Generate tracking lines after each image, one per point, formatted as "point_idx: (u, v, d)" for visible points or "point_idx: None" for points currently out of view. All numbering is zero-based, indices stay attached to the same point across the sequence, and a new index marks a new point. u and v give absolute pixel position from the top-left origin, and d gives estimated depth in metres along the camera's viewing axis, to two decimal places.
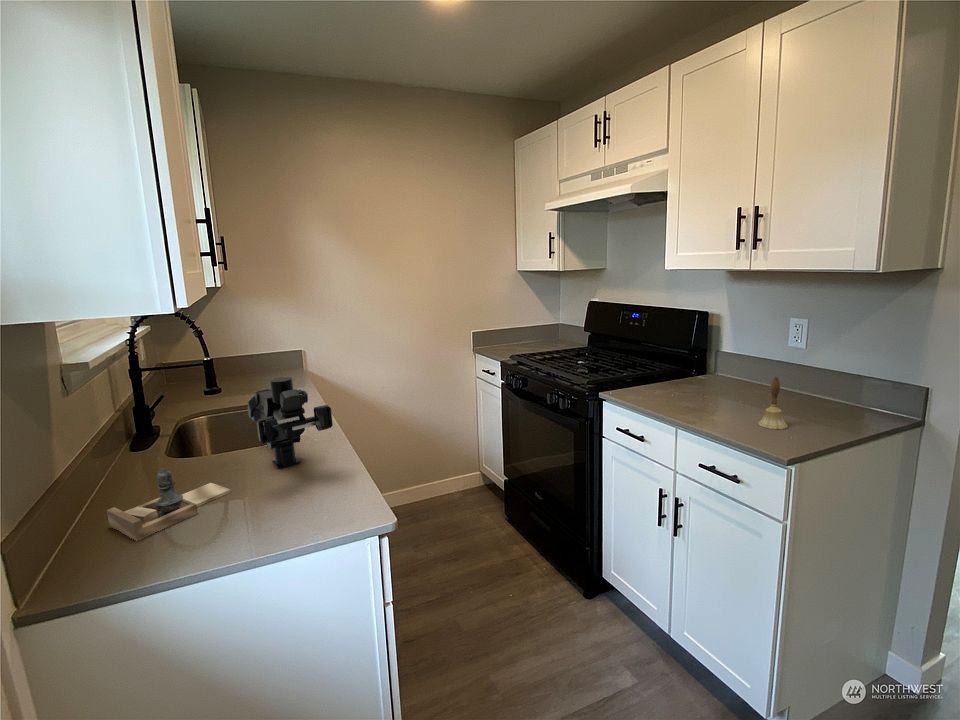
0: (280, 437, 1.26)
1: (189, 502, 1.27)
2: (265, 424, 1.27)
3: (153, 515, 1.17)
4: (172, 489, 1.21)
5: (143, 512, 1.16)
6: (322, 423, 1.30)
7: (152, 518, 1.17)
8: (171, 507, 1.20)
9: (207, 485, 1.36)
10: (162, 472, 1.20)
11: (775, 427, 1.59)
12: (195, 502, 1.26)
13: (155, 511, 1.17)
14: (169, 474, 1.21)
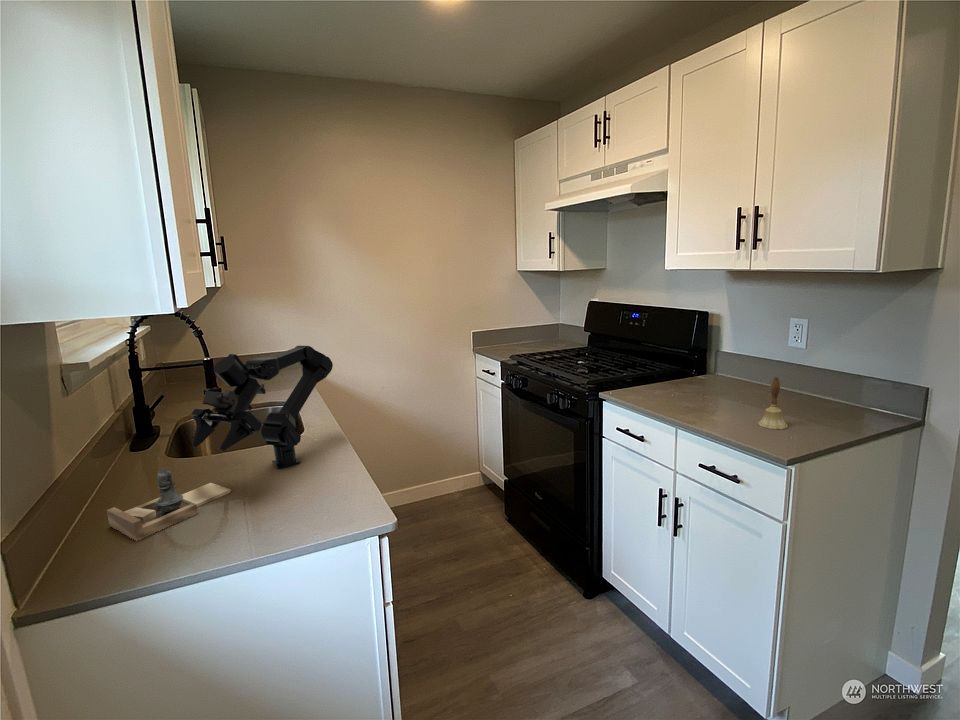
0: None
1: (189, 502, 1.27)
2: (194, 419, 1.30)
3: (152, 515, 1.17)
4: (172, 489, 1.21)
5: (142, 513, 1.16)
6: (223, 444, 1.23)
7: (151, 518, 1.16)
8: (171, 507, 1.20)
9: (207, 485, 1.36)
10: (162, 472, 1.20)
11: (775, 427, 1.59)
12: (195, 502, 1.26)
13: (154, 511, 1.17)
14: (169, 474, 1.21)
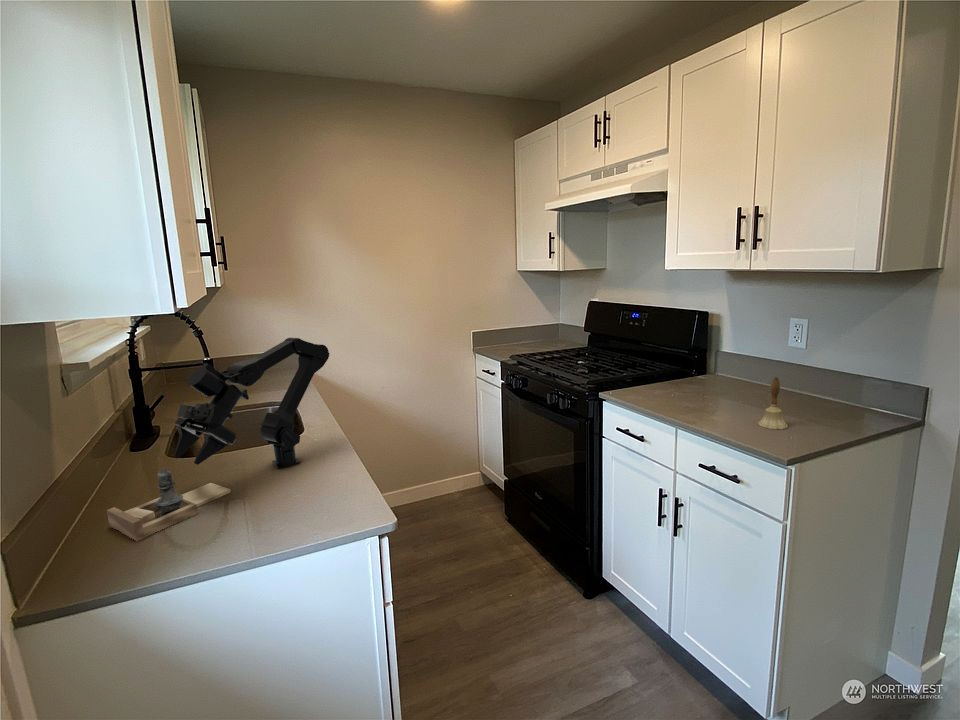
0: None
1: (189, 502, 1.27)
2: None
3: (150, 517, 1.16)
4: (172, 489, 1.21)
5: (140, 514, 1.16)
6: (196, 457, 1.22)
7: (149, 520, 1.16)
8: (171, 507, 1.20)
9: (207, 485, 1.36)
10: (162, 472, 1.20)
11: (775, 427, 1.59)
12: (195, 502, 1.26)
13: (153, 513, 1.17)
14: (169, 474, 1.21)
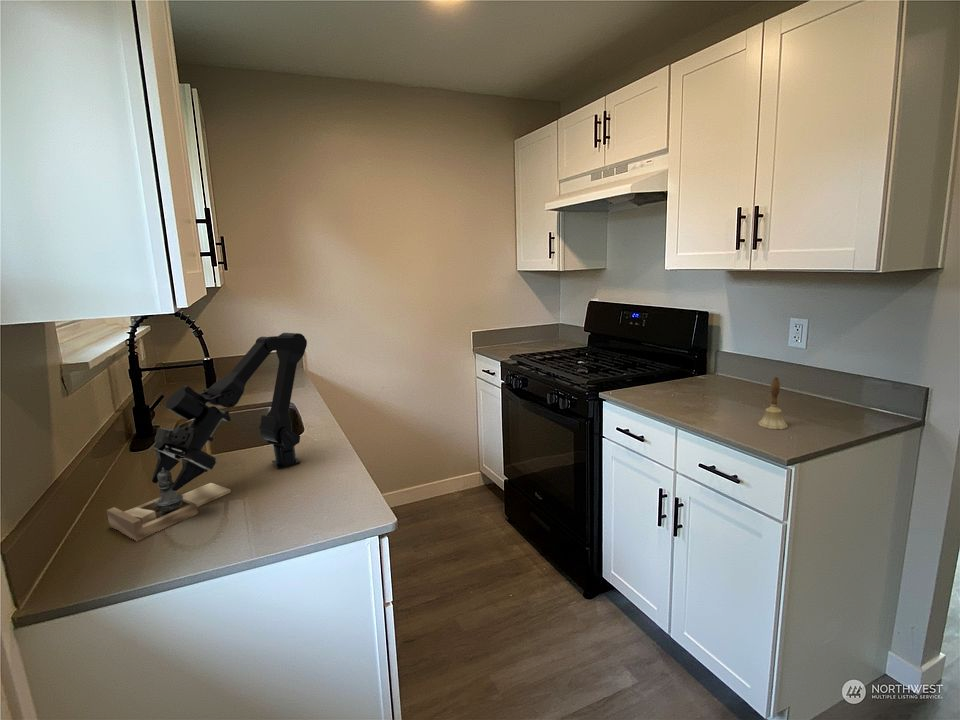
0: None
1: (189, 502, 1.27)
2: None
3: (151, 516, 1.16)
4: None
5: (141, 513, 1.16)
6: (174, 484, 1.18)
7: (150, 519, 1.16)
8: (171, 507, 1.20)
9: (207, 485, 1.36)
10: (162, 472, 1.20)
11: (775, 427, 1.59)
12: (195, 502, 1.26)
13: (153, 512, 1.17)
14: (169, 474, 1.21)
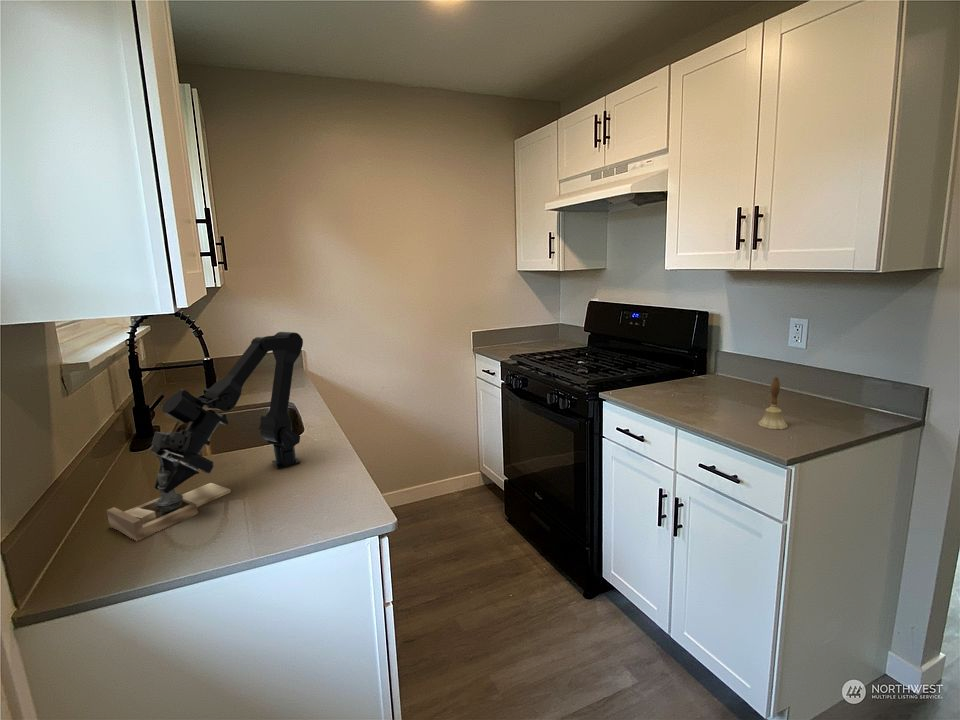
0: None
1: (189, 502, 1.27)
2: None
3: (151, 517, 1.16)
4: None
5: (141, 514, 1.16)
6: (166, 486, 1.19)
7: (150, 519, 1.16)
8: (171, 507, 1.20)
9: (207, 485, 1.36)
10: (162, 472, 1.20)
11: (775, 427, 1.59)
12: (195, 502, 1.26)
13: (153, 513, 1.16)
14: (169, 474, 1.21)
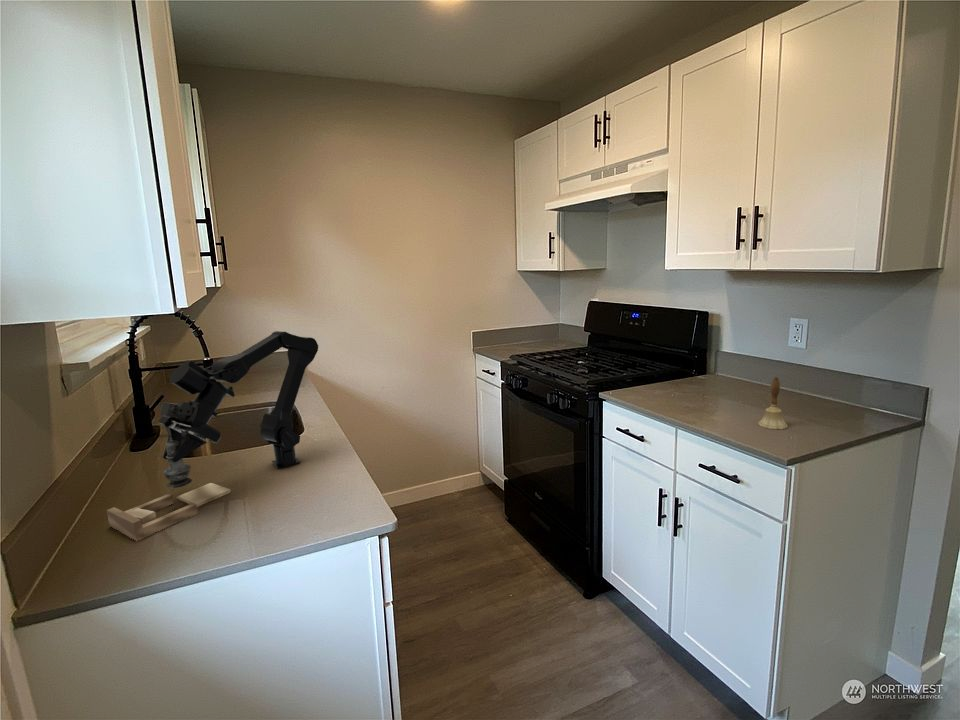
0: None
1: (189, 502, 1.27)
2: None
3: (151, 517, 1.16)
4: (180, 459, 1.23)
5: (141, 514, 1.16)
6: (174, 455, 1.20)
7: (150, 520, 1.16)
8: (179, 476, 1.22)
9: (207, 485, 1.36)
10: (170, 442, 1.21)
11: (775, 427, 1.59)
12: (195, 502, 1.26)
13: (153, 513, 1.16)
14: (177, 444, 1.22)
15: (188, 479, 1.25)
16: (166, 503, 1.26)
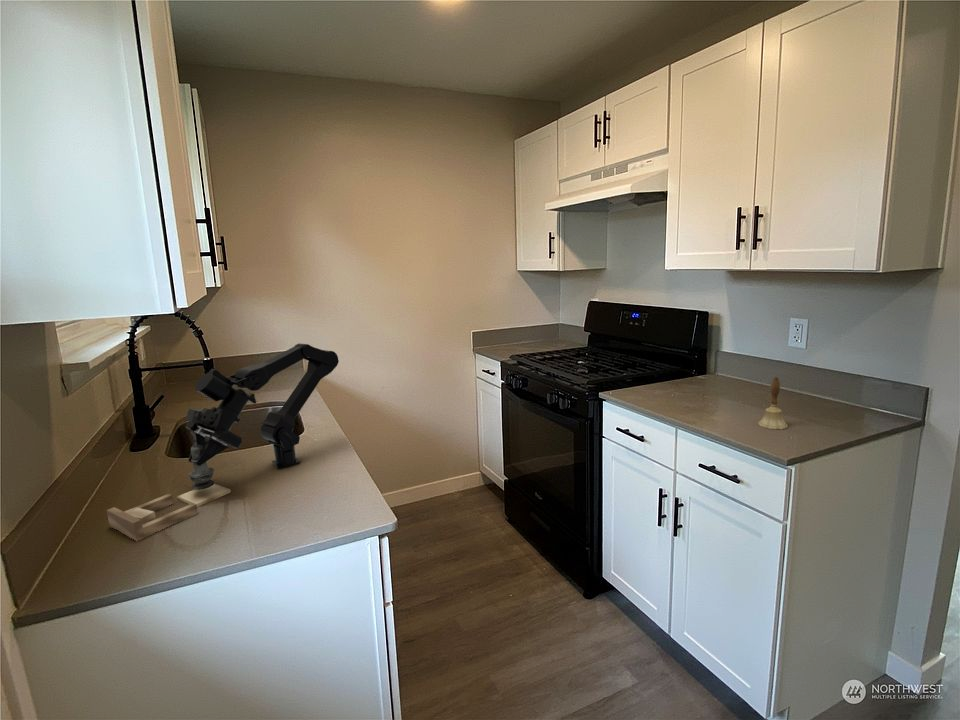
0: None
1: (189, 502, 1.27)
2: None
3: (151, 517, 1.16)
4: None
5: (141, 514, 1.16)
6: (198, 459, 1.27)
7: (150, 520, 1.16)
8: (203, 479, 1.28)
9: None
10: (195, 446, 1.28)
11: (775, 427, 1.59)
12: (195, 502, 1.26)
13: (153, 513, 1.16)
14: (201, 448, 1.29)
15: (211, 481, 1.32)
16: (166, 503, 1.26)
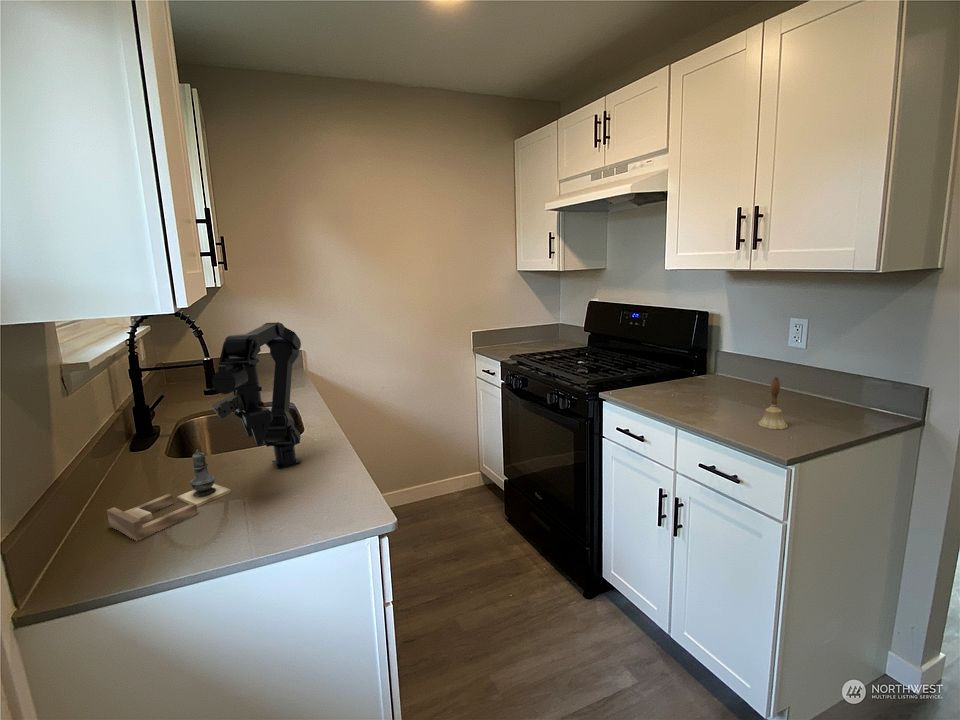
0: None
1: (189, 502, 1.27)
2: None
3: (148, 518, 1.16)
4: (205, 470, 1.30)
5: (138, 515, 1.15)
6: None
7: (146, 521, 1.15)
8: (204, 486, 1.29)
9: None
10: (196, 454, 1.29)
11: (775, 427, 1.59)
12: (195, 502, 1.26)
13: (150, 514, 1.16)
14: (203, 456, 1.29)
15: (212, 489, 1.32)
16: (166, 503, 1.26)
